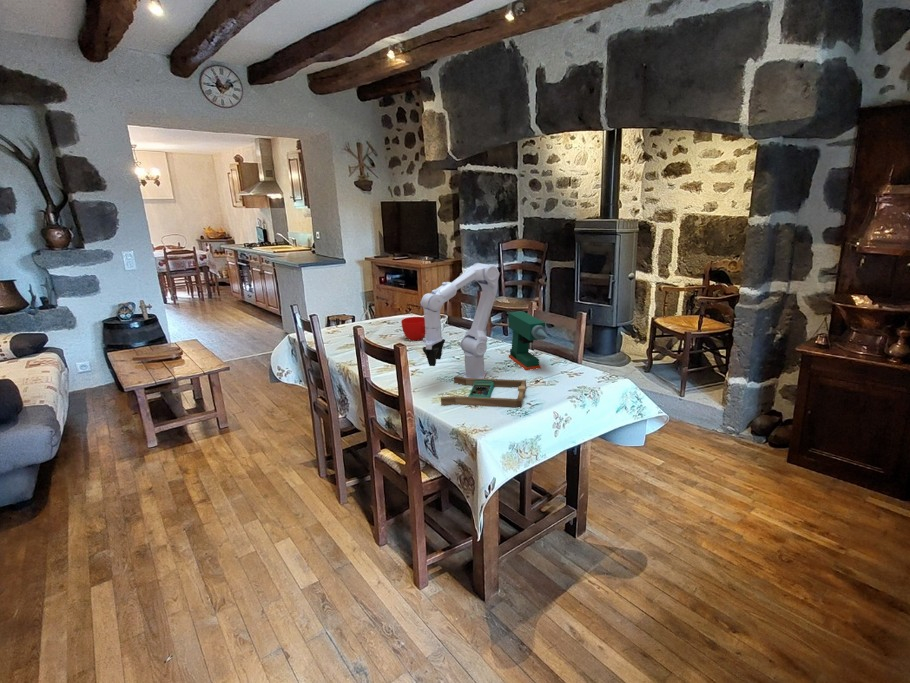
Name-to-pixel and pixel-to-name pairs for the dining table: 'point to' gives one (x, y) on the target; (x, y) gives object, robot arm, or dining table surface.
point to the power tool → (525, 338)
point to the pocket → (484, 400)
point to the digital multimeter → (482, 389)
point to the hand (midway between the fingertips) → (435, 362)
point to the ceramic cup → (414, 327)
